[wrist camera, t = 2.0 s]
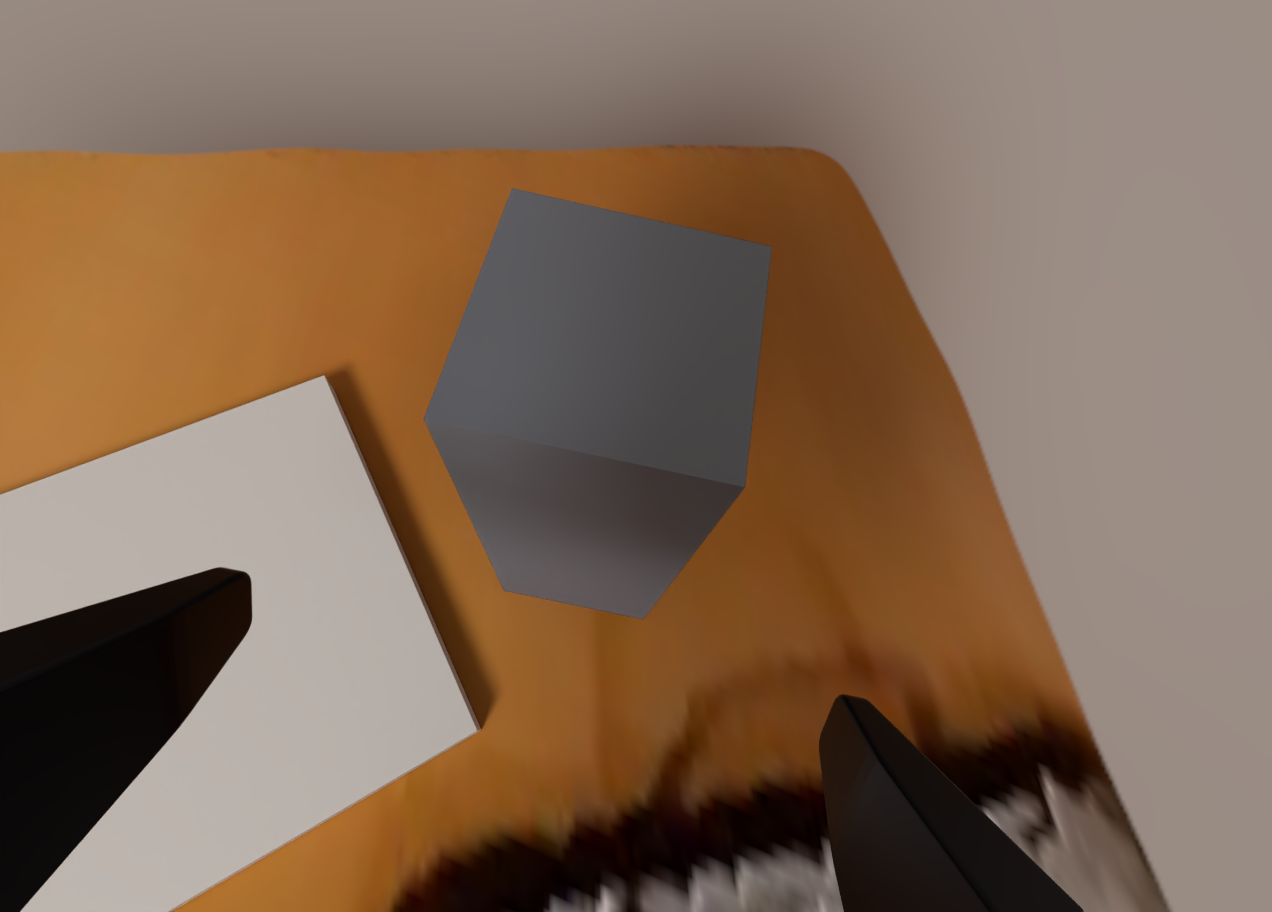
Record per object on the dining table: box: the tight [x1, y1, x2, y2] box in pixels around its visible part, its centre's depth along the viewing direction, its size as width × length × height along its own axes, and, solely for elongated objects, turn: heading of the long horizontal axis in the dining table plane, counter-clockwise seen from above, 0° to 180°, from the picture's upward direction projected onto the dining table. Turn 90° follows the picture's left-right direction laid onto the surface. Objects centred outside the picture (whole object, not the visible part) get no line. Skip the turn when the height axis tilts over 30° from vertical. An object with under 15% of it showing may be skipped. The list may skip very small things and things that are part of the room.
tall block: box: [424, 188, 772, 619], centre depth 16 cm, size 5×5×13 cm
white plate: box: [0, 375, 481, 912], centre depth 19 cm, size 14×14×1 cm
